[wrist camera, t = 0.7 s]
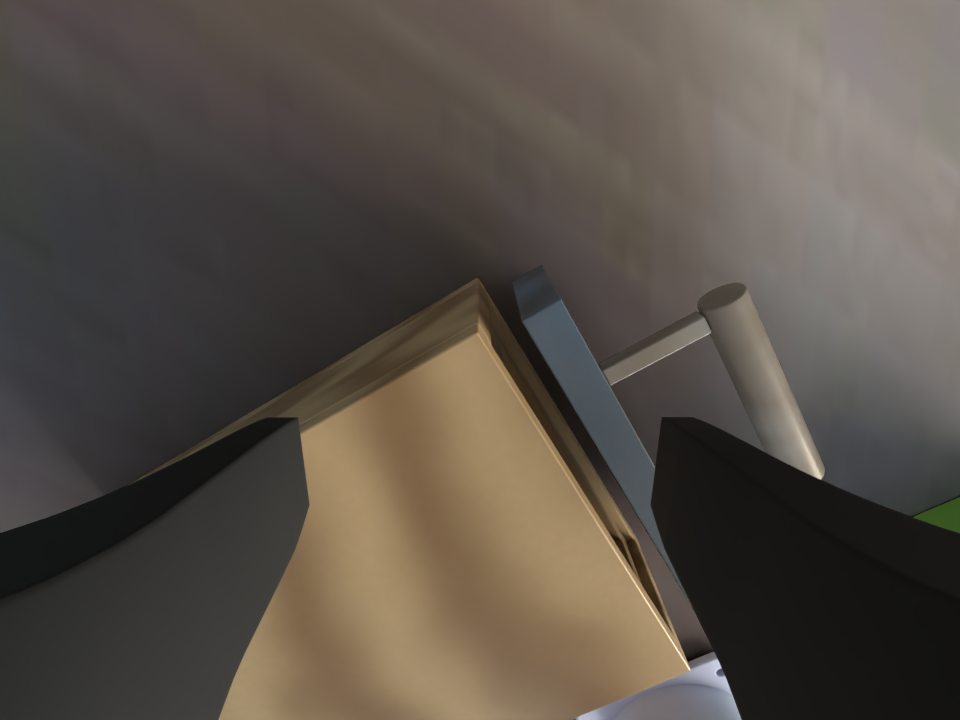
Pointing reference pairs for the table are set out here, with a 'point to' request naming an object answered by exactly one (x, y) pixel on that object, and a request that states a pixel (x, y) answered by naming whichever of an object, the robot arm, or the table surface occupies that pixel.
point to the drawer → (589, 383)
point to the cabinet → (446, 546)
